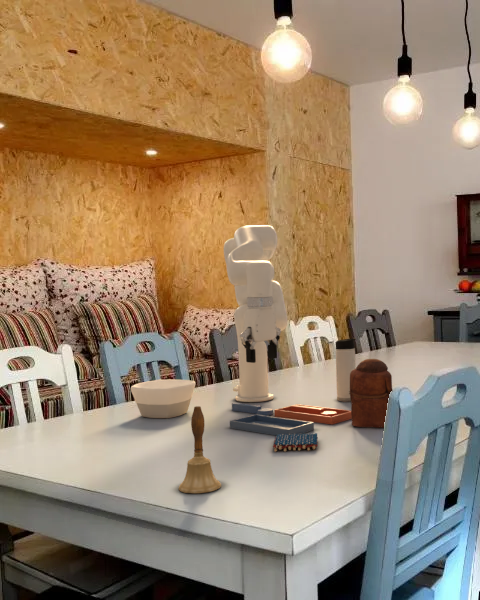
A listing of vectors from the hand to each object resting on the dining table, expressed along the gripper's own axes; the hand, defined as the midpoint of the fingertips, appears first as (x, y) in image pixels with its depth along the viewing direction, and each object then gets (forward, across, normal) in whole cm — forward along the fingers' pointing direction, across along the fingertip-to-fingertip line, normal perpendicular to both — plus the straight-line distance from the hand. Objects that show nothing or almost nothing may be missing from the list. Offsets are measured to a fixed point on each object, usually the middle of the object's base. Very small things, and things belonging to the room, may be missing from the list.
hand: (261, 360), depth 216 cm
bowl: (+16, +17, -25) cm, 34 cm away
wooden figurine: (+15, 0, +39) cm, 41 cm away
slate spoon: (+16, +2, -3) cm, 16 cm away
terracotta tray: (+16, -2, +18) cm, 24 cm away
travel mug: (+16, -29, +11) cm, 35 cm away
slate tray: (+15, +16, +17) cm, 28 cm away
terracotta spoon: (+15, -2, +18) cm, 23 cm away
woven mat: (+15, +28, +35) cm, 47 cm away
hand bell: (+14, +64, +40) cm, 77 cm away
